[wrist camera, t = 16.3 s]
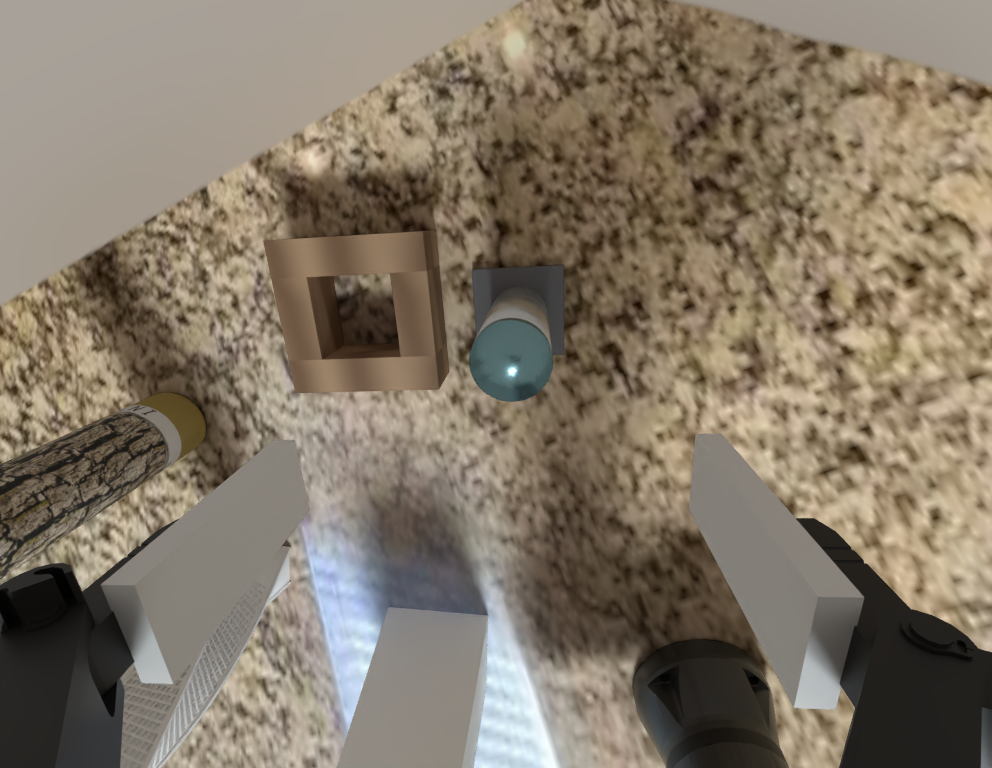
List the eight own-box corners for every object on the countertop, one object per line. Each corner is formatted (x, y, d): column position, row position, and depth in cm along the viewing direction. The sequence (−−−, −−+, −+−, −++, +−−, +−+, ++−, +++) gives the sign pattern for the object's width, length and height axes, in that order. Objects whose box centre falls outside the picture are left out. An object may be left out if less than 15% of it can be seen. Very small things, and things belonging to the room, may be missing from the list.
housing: (435, 230, 40) (422, 231, 36) (449, 371, 45) (439, 389, 40) (294, 238, 42) (263, 240, 37) (320, 375, 46) (295, 393, 41)
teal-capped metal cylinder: (546, 284, 41) (552, 319, 26) (547, 339, 42) (553, 400, 28) (490, 286, 41) (466, 322, 27) (493, 341, 43) (472, 402, 29)
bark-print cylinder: (222, 433, 49) (-66, 628, 26) (176, 458, 51) (-136, 663, 27) (181, 379, 47) (-169, 535, 24) (134, 406, 49) (-238, 578, 25)
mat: (563, 264, 40) (563, 265, 40) (563, 352, 43) (564, 354, 43) (472, 269, 41) (471, 270, 41) (478, 355, 44) (478, 357, 43)
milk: (393, 677, 59) (292, 998, 35) (388, 606, 55) (271, 912, 31) (486, 686, 58) (450, 1021, 34) (488, 615, 54) (449, 936, 30)
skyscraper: (237, 526, 53) (-58, 826, 27) (300, 537, 53) (66, 851, 27) (240, 580, 56) (-25, 901, 29) (300, 591, 56) (87, 925, 29)
